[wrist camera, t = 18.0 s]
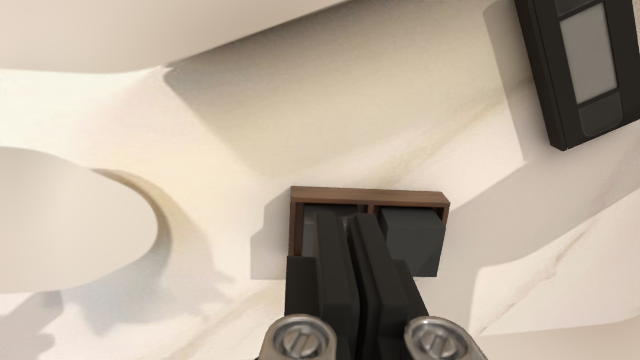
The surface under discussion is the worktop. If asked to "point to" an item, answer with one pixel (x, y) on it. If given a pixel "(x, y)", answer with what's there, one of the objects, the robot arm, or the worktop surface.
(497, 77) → the worktop surface
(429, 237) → the block
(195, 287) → the worktop surface
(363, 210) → the partitioned wooden crate
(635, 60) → the vhs tape
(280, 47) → the worktop surface
